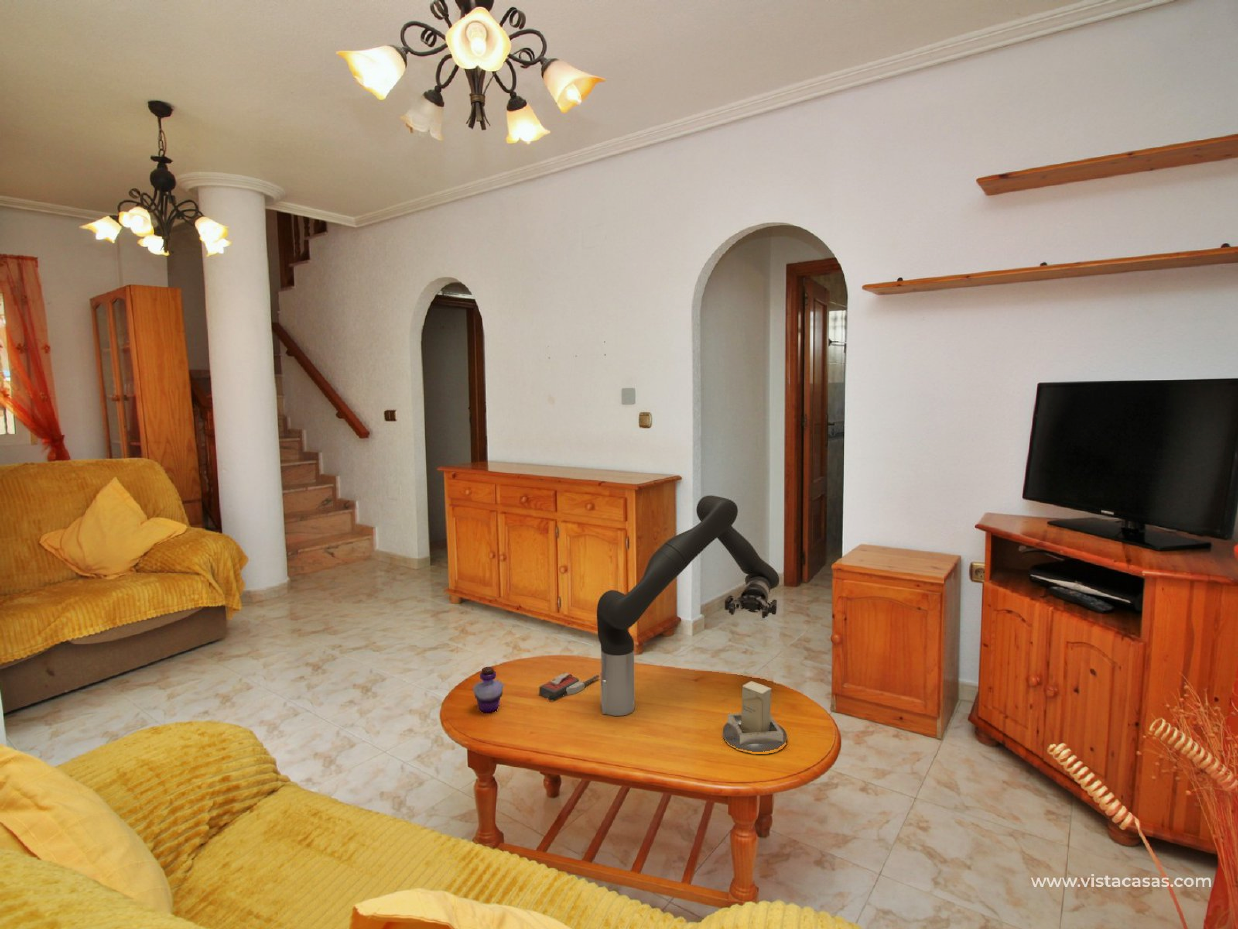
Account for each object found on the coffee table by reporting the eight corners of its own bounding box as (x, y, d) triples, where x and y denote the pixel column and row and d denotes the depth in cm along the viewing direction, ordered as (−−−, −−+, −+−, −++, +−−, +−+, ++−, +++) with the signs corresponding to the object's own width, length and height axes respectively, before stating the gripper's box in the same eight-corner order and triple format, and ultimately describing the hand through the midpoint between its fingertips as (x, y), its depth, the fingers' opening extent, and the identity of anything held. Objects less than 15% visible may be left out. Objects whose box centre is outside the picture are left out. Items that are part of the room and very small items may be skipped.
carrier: (732, 757, 160) (732, 741, 159) (716, 724, 176) (716, 710, 175) (796, 752, 161) (796, 737, 161) (774, 720, 177) (774, 706, 177)
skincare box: (740, 731, 169) (740, 685, 168) (750, 724, 172) (750, 680, 171) (761, 740, 165) (762, 693, 163) (771, 733, 168) (771, 687, 166)
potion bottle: (510, 706, 187) (509, 665, 186) (491, 719, 179) (490, 677, 178) (486, 699, 191) (485, 660, 190) (466, 712, 183) (465, 671, 182)
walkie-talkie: (556, 705, 188) (601, 681, 203) (556, 691, 187) (601, 667, 203) (534, 697, 193) (579, 674, 209) (534, 682, 192) (579, 660, 208)
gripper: (731, 581, 197) (721, 597, 182) (780, 585, 192) (774, 602, 177) (731, 605, 198) (721, 623, 183) (779, 610, 193) (774, 629, 178)
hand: (747, 613), depth 180 cm, fingers open, 8 cm apart
